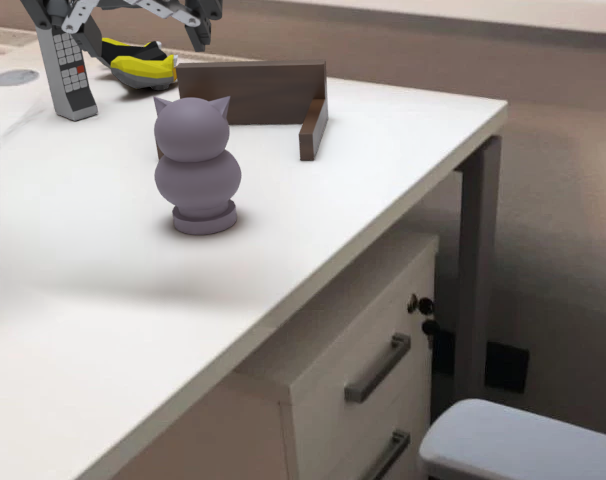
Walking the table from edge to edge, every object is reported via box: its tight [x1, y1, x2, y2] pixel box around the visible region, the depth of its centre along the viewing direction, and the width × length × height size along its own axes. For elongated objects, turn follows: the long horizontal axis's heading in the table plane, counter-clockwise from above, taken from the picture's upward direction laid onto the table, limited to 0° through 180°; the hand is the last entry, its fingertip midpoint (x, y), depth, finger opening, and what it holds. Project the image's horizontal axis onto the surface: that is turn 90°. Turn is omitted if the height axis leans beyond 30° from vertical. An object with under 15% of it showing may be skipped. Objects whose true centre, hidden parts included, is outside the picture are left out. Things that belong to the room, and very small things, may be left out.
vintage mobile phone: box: [34, 24, 99, 122], centre depth 110 cm, size 4×5×25 cm
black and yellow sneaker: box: [96, 37, 179, 91], centre depth 125 cm, size 15×6×10 cm
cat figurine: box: [152, 95, 242, 236], centre depth 85 cm, size 8×8×12 cm
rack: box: [154, 58, 329, 162], centre depth 104 cm, size 14×18×7 cm
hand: (148, 44), depth 70 cm, fingers open, 8 cm apart
